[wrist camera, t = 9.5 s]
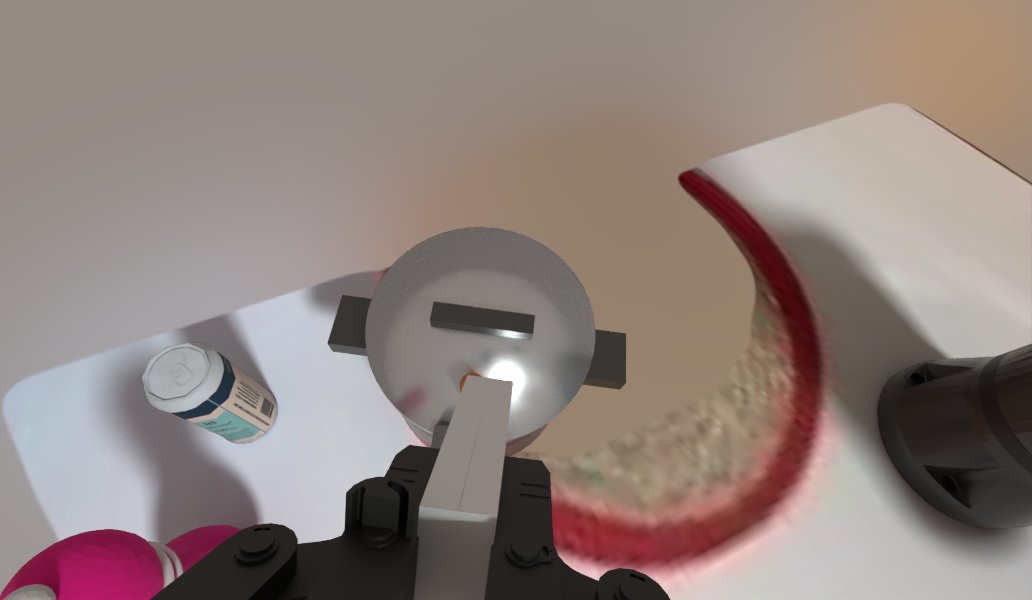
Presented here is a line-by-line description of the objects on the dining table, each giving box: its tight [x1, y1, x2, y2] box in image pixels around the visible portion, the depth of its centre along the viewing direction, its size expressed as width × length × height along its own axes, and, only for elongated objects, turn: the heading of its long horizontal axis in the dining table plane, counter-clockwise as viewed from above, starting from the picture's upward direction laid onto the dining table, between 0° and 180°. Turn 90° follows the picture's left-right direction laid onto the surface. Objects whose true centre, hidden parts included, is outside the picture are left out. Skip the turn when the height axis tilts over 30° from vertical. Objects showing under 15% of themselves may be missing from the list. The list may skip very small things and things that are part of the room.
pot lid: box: [365, 227, 595, 449], centre depth 33 cm, size 16×17×3 cm
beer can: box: [142, 343, 278, 444], centre depth 36 cm, size 5×5×12 cm
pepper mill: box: [0, 525, 240, 600], centre depth 27 cm, size 7×7×20 cm
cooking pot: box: [327, 295, 626, 457], centre depth 40 cm, size 22×15×11 cm
